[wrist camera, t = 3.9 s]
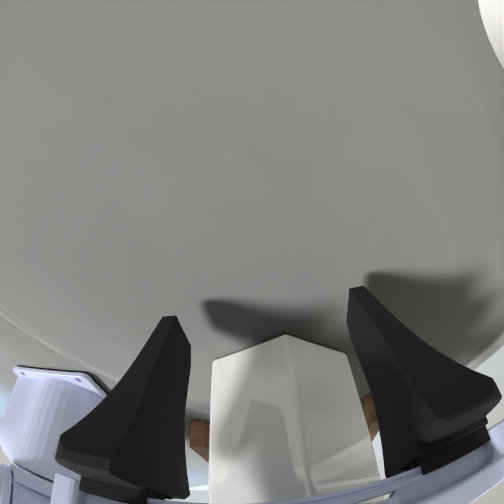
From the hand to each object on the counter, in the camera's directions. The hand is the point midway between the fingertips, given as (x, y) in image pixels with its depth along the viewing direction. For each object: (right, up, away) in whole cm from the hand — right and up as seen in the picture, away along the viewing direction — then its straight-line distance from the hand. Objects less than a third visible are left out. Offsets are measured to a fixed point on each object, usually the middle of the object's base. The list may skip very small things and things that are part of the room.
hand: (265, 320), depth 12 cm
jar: (+1, -5, +5) cm, 7 cm away
